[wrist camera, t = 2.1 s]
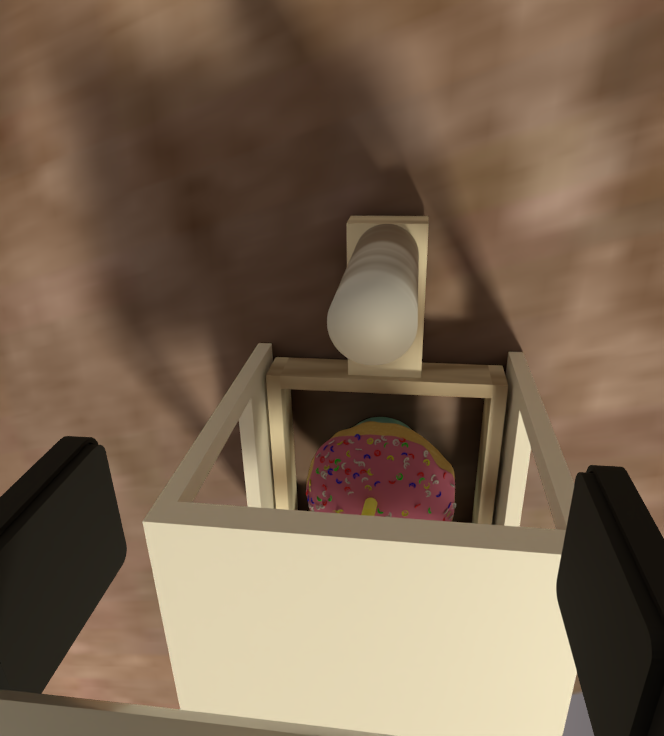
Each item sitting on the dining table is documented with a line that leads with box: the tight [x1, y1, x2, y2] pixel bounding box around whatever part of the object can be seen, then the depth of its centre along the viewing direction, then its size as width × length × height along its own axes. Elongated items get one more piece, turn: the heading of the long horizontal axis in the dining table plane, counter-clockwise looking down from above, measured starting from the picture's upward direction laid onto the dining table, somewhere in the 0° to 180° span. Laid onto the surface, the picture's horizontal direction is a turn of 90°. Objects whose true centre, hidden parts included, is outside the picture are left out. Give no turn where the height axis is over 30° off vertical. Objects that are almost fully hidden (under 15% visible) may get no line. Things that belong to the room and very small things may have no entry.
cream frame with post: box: [266, 216, 508, 525], centre depth 29 cm, size 21×13×12 cm, turn 1°
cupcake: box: [306, 417, 456, 522], centre depth 31 cm, size 9×8×12 cm
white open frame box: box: [143, 343, 577, 736], centre depth 30 cm, size 14×15×16 cm
